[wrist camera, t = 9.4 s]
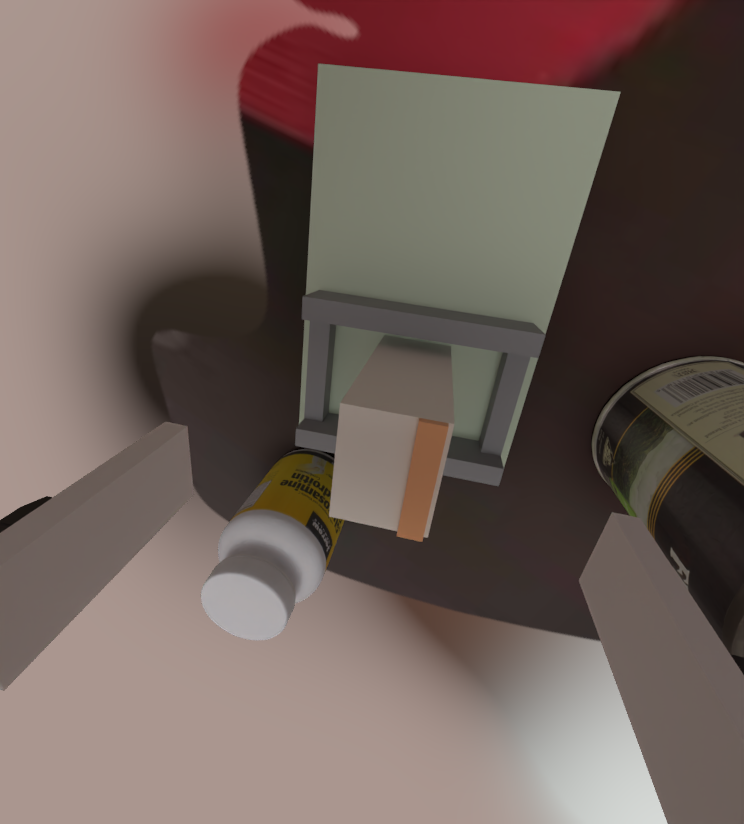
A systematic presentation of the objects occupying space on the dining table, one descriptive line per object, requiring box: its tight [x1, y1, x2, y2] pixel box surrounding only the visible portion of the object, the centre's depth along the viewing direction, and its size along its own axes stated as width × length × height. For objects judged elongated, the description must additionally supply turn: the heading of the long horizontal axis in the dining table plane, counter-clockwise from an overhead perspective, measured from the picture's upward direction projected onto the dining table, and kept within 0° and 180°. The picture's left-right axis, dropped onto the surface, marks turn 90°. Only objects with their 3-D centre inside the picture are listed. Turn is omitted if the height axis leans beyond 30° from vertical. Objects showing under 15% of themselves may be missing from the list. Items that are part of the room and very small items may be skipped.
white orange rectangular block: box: [329, 335, 454, 542], centre depth 20 cm, size 5×4×11 cm
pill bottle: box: [201, 449, 344, 640], centre depth 25 cm, size 6×6×12 cm
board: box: [295, 64, 620, 486], centre depth 22 cm, size 20×14×4 cm
